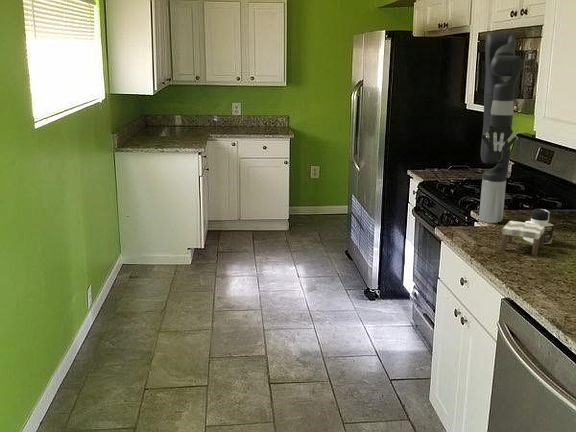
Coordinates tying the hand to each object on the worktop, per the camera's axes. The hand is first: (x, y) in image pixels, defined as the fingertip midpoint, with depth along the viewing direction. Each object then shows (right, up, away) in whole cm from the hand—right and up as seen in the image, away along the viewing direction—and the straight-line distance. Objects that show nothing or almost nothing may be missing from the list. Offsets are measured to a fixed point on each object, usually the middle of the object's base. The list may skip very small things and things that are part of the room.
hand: (497, 161), depth 222 cm
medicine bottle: (+16, -30, +3) cm, 34 cm away
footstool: (+2, -27, -4) cm, 27 cm away
